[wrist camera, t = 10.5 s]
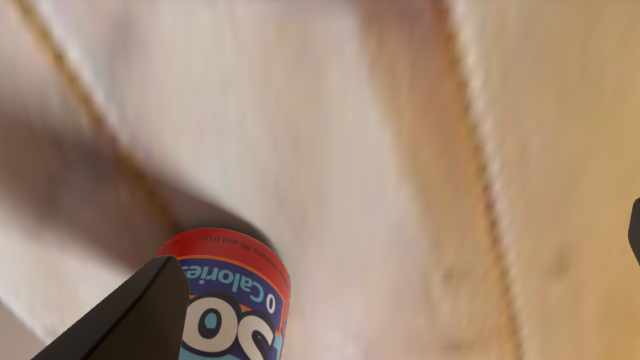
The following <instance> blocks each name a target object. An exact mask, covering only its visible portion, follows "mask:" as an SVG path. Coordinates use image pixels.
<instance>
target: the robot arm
mask: <svg viewBox="0 0 640 360" xmlns="http://www.w3.org/2000/svg"><path fill="white" fill-rule="evenodd" d="M628 239H629V243H630V246H631V248H632V250H633V252H634V255H635V257H636V259H637V261H638V263H639V265H640V198H638V199H636V200H635V202H634V204H633V208H632V213H631V219H630V224H629V230H628ZM189 296H190V284H189V281H188V279H187V277H186V275H185V273H184V271H183V269H182V267H181V265H180V263H179V261H178V259H177V257H175V256H174V255H164V256H157V257H154V258H153V259H152V260H150V261H149V262H148V263H147V264H145V265H144V266H143V267H142V268H141V269H139V270H138V271H137V272H136V273H135V274H133V275H132V276H131V277H130V278H129V279H127V280H126V281H125V282H124V283H123V284H121V285H120V286H119V287H118V288H117V289H115V290H114V291H113V292H112V293H110V294H109V295H108V296H107V297H106V298H104V299H103V300H102V301H101V302H100V303H98V304H97V305H96V306H95V307H94V308H92V309H91V310H90V311H89V312H88V313H86V314H85V315H84V316H83V317H81V318H80V319H79V320H78V321H77V322H75V323H74V324H73V325H72V326H71V327H69V328H68V329H67V330H66V331H65V332H63V333H62V334H61V335H60V336H59V337H57V338H56V339H55V340H54V341H53V342H51V343H50V344H49V345H48V346H46V347H45V348H44V349H43V350H42V351H41V352H39V353H38V354H37V355H36V356H35V357H34V358H32V359H31V360H179V355H180V350H181V344H182V338H183V332H184V326H185V320H186V314H187V308H188V302H189Z"/></svg>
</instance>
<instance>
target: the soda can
mask: <svg viewBox="0 0 640 360" xmlns="http://www.w3.org/2000/svg"><path fill="white" fill-rule="evenodd" d="M164 255H174V256H175V257H177V259H178V261H179V263H180V265H181V267H182V269H183V271H184V273H185V275H186V277H187V279H188V281H189V284H190V296H189V302H188V308H187V314H186V320H185V326H184V332H183V338H182V344H181V350H180V355H179V360H281V358H282V351H283V345H284V338H285V331H286V325H287V318H288V311H289V304H290V296H291V283H290V278H289V275H288V272H287V270H286V268H285V266H284V264H283V263H282V261H281V260H280V259H279V258H278V256H277V255H276V254H275V253H274V252H273V251H272V250H271V249H270V248H268V247H267V246H266V245H264V244H263V243H261V242H260V241H258V240H256V239H254V238H252V237H250V236H248V235H246V234H243V233H240V232H237V231H233V230H229V229H223V228H197V229H191V230H188V231H184V232H182V233H179V234H177V235H175V236H173V237H171V238H169V239H168V240H167V241H165V242H164V243H163V244H162V245H161V246H160V247H159V249H158V250H157V251H156V253H155V254H154V256H153V257H152V259H153V258H154V257H157V256H164ZM152 259H151V260H152Z"/></svg>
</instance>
